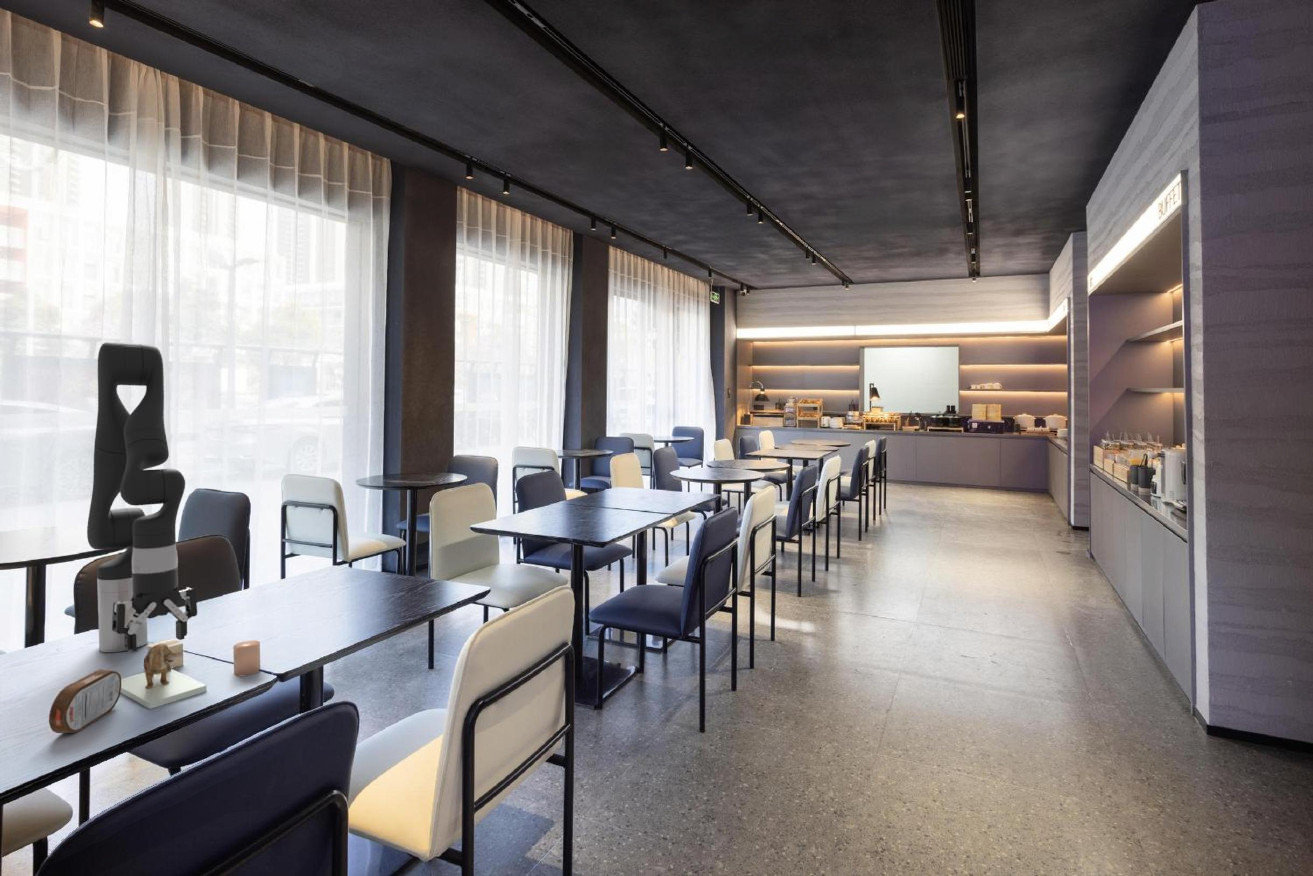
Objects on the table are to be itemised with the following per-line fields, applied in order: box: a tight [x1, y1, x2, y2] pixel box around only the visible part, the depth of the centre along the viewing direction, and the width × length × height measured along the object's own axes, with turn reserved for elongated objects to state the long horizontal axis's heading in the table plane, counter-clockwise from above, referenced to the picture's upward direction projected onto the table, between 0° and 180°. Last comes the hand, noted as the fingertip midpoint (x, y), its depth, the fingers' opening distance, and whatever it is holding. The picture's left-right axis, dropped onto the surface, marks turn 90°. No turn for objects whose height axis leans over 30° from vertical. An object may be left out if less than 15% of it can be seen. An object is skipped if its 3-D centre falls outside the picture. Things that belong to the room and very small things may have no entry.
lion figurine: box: [143, 644, 177, 689], centre depth 143 cm, size 15×5×9 cm, turn 40°
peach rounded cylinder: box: [232, 640, 261, 676], centre depth 151 cm, size 5×5×6 cm
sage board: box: [121, 668, 208, 710], centre depth 141 cm, size 18×10×1 cm, turn 57°
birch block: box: [146, 638, 184, 669], centre depth 154 cm, size 5×5×5 cm
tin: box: [48, 668, 122, 734], centre depth 127 cm, size 15×3×8 cm, turn 5°
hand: (156, 645), depth 141 cm, fingers open, 8 cm apart
